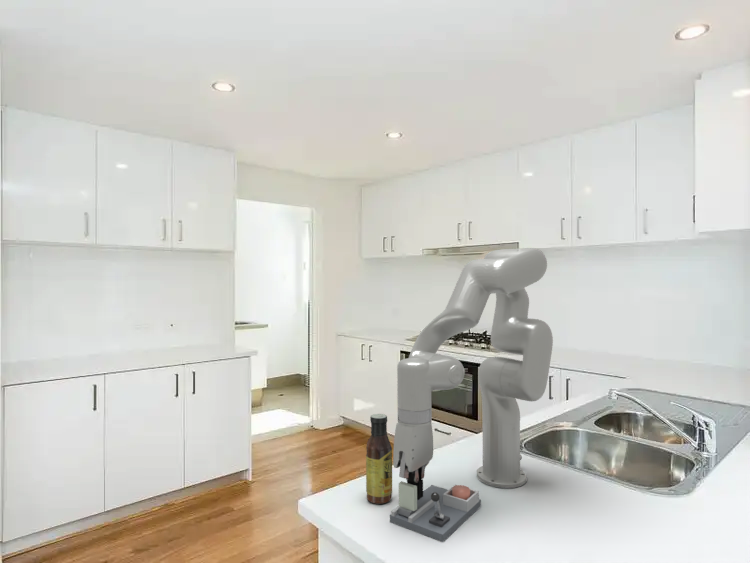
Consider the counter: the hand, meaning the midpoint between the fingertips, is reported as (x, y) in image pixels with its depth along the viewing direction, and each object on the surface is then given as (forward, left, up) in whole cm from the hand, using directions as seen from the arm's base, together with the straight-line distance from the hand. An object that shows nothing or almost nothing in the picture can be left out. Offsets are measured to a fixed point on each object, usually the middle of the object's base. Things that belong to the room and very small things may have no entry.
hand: (415, 496), depth 105 cm
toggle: (+2, +7, -2) cm, 7 cm away
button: (-8, +7, -3) cm, 11 cm away
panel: (-3, +4, -4) cm, 6 cm away
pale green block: (+3, 0, -2) cm, 4 cm away
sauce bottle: (-1, -11, -4) cm, 12 cm away
